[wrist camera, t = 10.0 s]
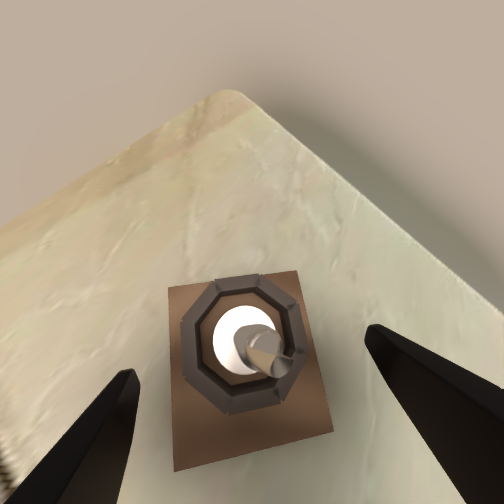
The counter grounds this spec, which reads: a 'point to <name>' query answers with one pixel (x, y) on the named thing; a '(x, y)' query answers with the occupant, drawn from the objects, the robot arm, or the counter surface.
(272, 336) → the screw
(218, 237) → the counter surface
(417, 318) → the counter surface
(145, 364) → the counter surface
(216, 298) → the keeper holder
